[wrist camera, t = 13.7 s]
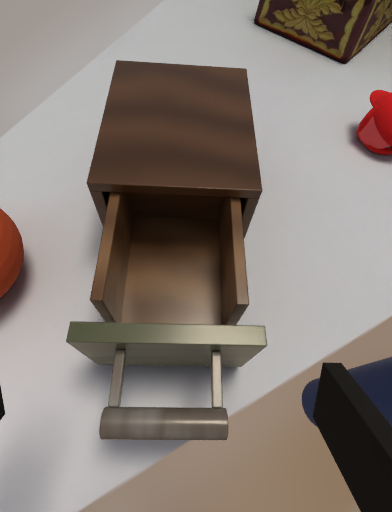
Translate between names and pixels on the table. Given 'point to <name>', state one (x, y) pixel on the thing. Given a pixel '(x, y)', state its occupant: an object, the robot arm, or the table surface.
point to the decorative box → (326, 23)
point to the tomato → (9, 252)
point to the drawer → (169, 306)
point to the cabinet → (177, 135)
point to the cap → (378, 124)
